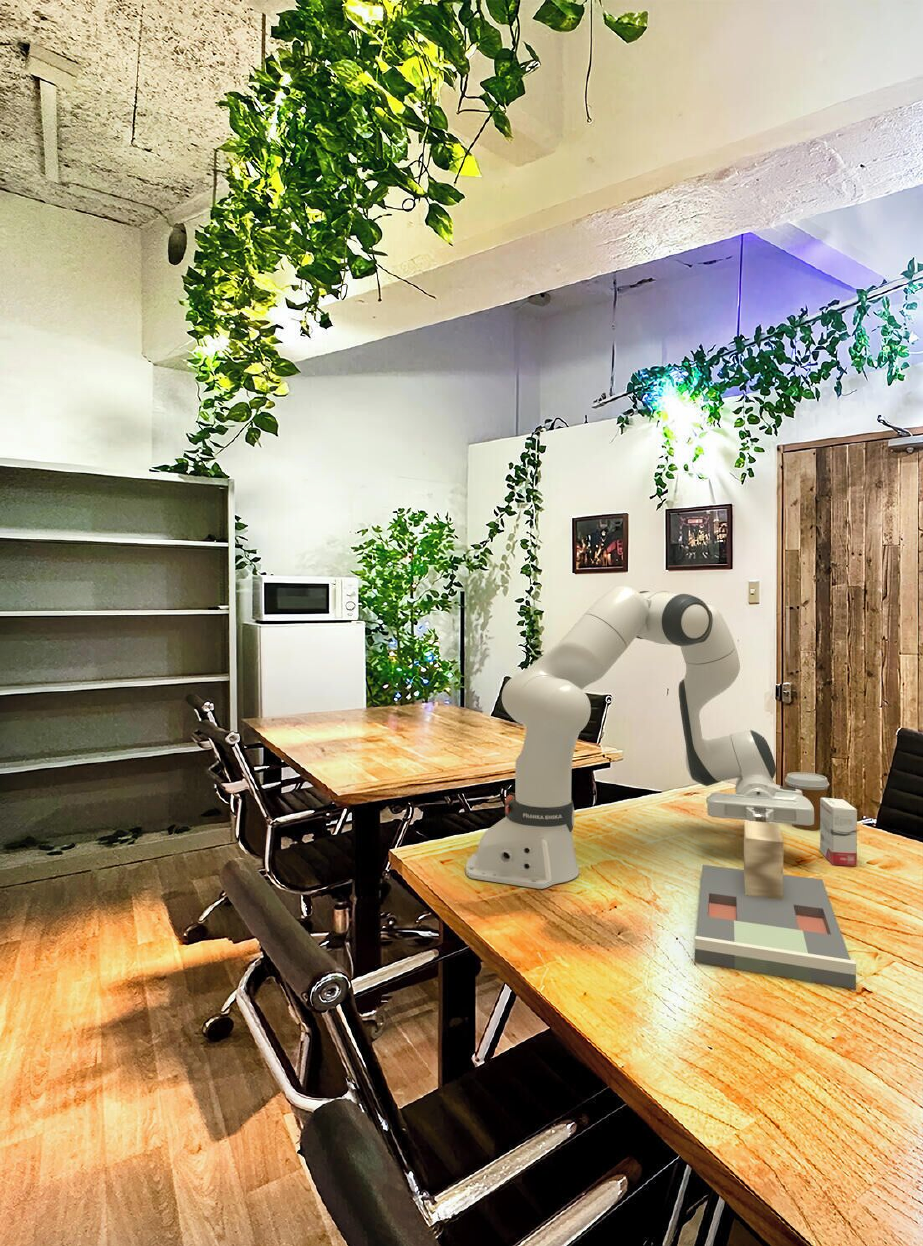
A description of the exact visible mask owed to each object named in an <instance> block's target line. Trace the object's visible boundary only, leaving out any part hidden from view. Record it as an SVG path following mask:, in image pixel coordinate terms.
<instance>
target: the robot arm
mask: <svg viewBox="0 0 923 1246" xmlns="http://www.w3.org/2000/svg"><path fill="white" fill-rule="evenodd" d="M635 639H639V640H647V641H650V642H653V643H655V644H660V645H669V646H671V645H672V646H674V645H675V646H678V647H680V650H681V654H682V657H683V659H684V662H685V663H684V664H685V675H684V677H683V679H682V680H681V681H680V682H679V684H678V700H679V710H680V716H681V725H682V730H683V736H684V737H683V738H684V742H685V764H686V765H685V766H686V770H687V772H688V775H689V776H690V778H691V780H693V781H694V782H696V783H698V784H700V785H702V786H705V787H709V786H711V785H716V784H720V783H722V782H724V781H729V780H734V779H736V783H735V787H734V788H735V789H734V790H735V791H734V792H735V793H729V792H728V793H727V792H713V793H711V794H710V795H709V796H707V797H706V799H705V802H706V805H707V808H706V809H707V816H709V817H711V818H719V819H720V818H721V819H732V820H741V821H744V820H746V821H756V822H766V823H777V824H786V825H792V824H796V825H807V826H810V825H813V824H814V807H813V805H812V804H811V802H810V801H809V800H808V799H807V798H806V797H804V796H803V795H802V791H801V790H799V789H794V788H789V787H787V786H783V785H779V784H776V782H775V781H774V777H775V775H776V772H777V767H776V766H777V765H776V763H775V759H774V756H773V753H772V750H771V747H770V745H769V743H768V741H767V740H766V739H765V737H764V736H763V735H762V734H760V733H758V732H757V731H754V730H752V729H749V730H746V731H741V732H736V733H732V734H729V735H724V736H721V737H716V738H712V739H704V738H703V734H702V726H701V719H700V714H701V713H700V712H701V710H702V709H703V707H704V706H705V705H706V704H707V703H709V702H710V701H711V700H713V699H714V698H716V697H717V696H719V695H720V694H722V693H723V692H725V691H727V689H729V688H730V687H731V686H732V685H733V683H734V682H735V681H736V680H737V677H738V676H739V673H740V670H741V664H740V658H739V653H738V650H737V647H736V644H735V641H734V638H733V635H732V632H731V631H730V629H729V627H728V624H727V623H726V621H725V619H724V617H723V615H722V614H721V612H720V610H719V609H718V608H717V607H716V606H714V605H712V604H708V603H705V602H704V600H702V599H700V598H699V597H698V596H695V595H691V594H688V593H678V592H672V591H671V592H670V591H666V590H653V591H648V590H643V591H639V590H637V589H635V588H634V587H631V586H628V585H619V586H617V585H616V586H614V587H613V588H611V589H610V590H609V591H607V592H606V593H605V594H604V595H602V596H601V597H600V598H598V600H597V601H596V602H595V603H593V604H592V605H591V607H590V608H588V610H587V611H586V612H585V613H584V614H583V615H582V616H581V617H580V618H579V620H577V622H576V623H575V624H574V625H573V626H572V628H571V629H570V630H569V631H568V632H567V633H566V634H565V635H564V636H563V638H561V640H560V641H559V642H558V643H556V644H555V645H554V646H552V648H550V649H549V650H548V651H547V652H546V653H544V654H543V655H542V656H541V657H539V658H538V659H537V660H536V661H535V662H533V663H532V664H530V666H528V667H527V668H526V669H525V670H524V671H522V672H520V673H519V674H517V675H515V676H513V677H511V678H510V679H509V680H508V681H506V683H505V684H504V686H503V689H502V692H501V702H502V706H503V708H504V710H505V712H506V713H507V714H508V715H509V716H510V717H511V718H512V719H513V720H514V721H515V722H516V723H518V724H521V725H523V726H524V727H525V735H524V741H523V744H522V748H521V751H520V754H519V755H518V756H517V757H516V759H515V765H514V766H515V770H514V771H515V778H514V779H515V790H514V791H515V795H512V794H509V795H507V797H506V799H505V800H504V803H505V804H504V815H505V817H503V818H502V819H501V820H499V821H498V822H496V823H495V824H493V825H492V826H491V827H489V828H488V829H487V830H485V832H484V833H483V834H481V837H480V839H479V843H478V845H477V851H476V852H474V853H473V854H471V855H470V856H469V857H468V859H467V860H466V863H465V864H466V865H465V873H466V876H468V877H469V878H470V879H473V880H474V879H475V880H480V881H486V882H492V883H500V884H506V885H512V886H519V887H525V888H532V889H539V890H541V889H543V890H544V889H546V888H547V889H548V887H551V886H553V885H557V884H562V883H563V884H564V883H566V882H569V881H572V880H574V879H576V878H577V877H578V876H579V874H580V868H579V865H578V861H577V857H576V851H575V845H574V837H573V830H574V827H575V807H574V801H573V799H572V767H573V765H572V764H573V757H574V754H575V749H576V745H577V742H578V738H579V735H580V733H581V731H583V730H584V729H585V728H586V726H587V725H588V722H589V720H590V717H591V713H592V709H591V701H590V699H589V697H588V695H587V694H586V692H584V690H583V689H584V688H586V687H588V686H589V685H591V684H593V683H595V682H597V681H599V680H601V679H602V678H603V677H604V676H605V675H606V674H607V673H608V671H609V670H611V667H613V666H614V664H615V663H616V662H617V661H618V659H619V658H620V657H621V656H622V655H623V654H624V652H625V651H626V650H627V649H628V648H629V646H630V645H631V644H632V643H633V641H634V640H635Z"/></svg>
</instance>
